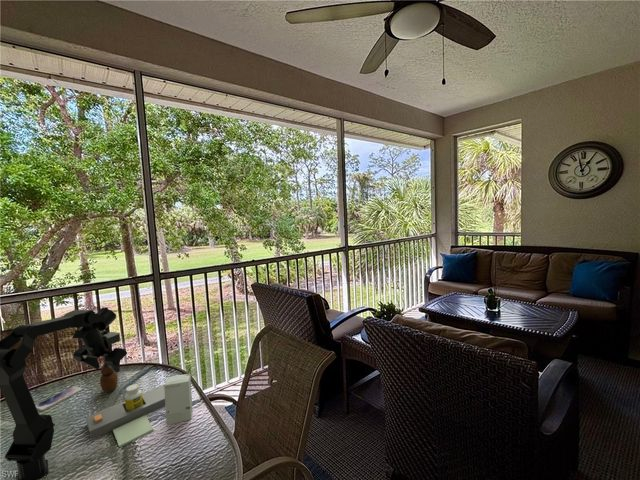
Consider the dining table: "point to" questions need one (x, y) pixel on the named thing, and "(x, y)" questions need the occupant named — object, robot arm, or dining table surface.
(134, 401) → the supplement bottle
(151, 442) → the dining table surface
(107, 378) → the wooden figurine
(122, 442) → the pad
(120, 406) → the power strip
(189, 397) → the skincare box
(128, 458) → the dining table surface
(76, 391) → the smartphone
